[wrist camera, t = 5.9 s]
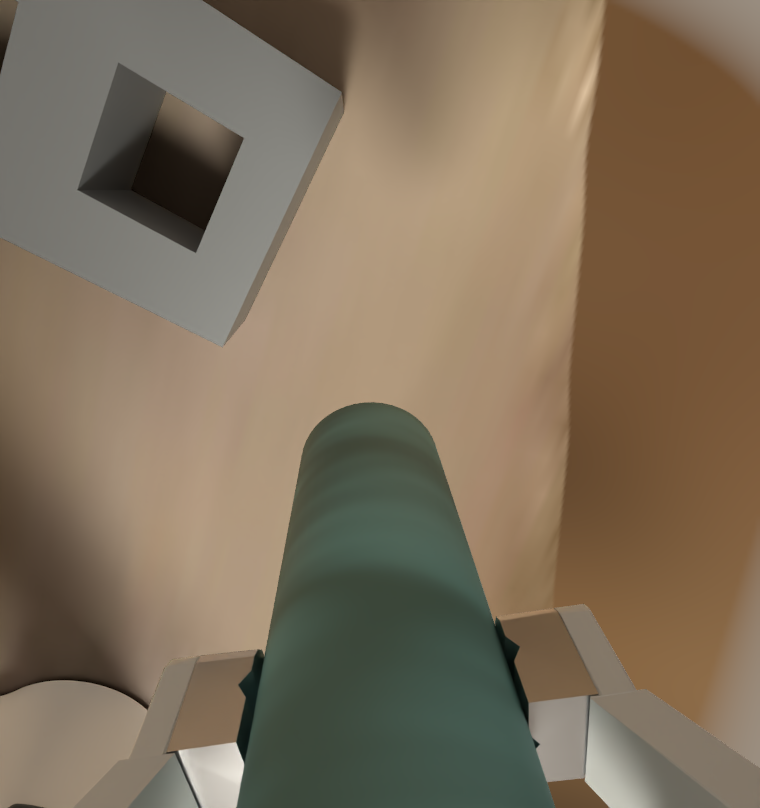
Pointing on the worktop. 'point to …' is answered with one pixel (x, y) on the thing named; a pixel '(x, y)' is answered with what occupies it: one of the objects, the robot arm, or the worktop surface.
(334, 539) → the teal peg
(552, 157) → the worktop surface
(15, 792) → the robot arm
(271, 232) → the socket block
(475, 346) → the worktop surface
